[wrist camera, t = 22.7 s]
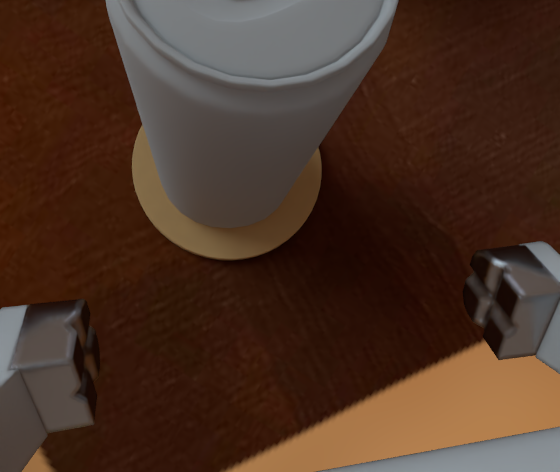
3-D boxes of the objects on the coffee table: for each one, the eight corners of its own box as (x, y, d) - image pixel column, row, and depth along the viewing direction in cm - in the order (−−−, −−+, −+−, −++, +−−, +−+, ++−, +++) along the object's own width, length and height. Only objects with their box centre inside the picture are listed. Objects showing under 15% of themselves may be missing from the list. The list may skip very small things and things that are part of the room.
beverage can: (315, 187, 20) (475, -2, 8) (207, 258, 19) (213, 159, 7) (243, 84, 20) (298, -244, 8) (133, 149, 19) (22, -120, 7)
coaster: (353, 150, 21) (356, 147, 20) (251, 298, 19) (252, 297, 19) (207, 46, 21) (207, 41, 20) (93, 187, 19) (91, 184, 19)
